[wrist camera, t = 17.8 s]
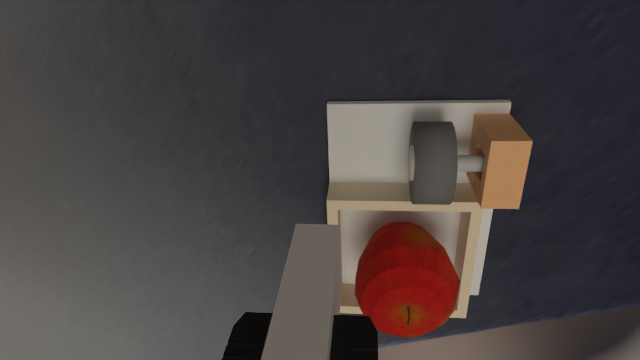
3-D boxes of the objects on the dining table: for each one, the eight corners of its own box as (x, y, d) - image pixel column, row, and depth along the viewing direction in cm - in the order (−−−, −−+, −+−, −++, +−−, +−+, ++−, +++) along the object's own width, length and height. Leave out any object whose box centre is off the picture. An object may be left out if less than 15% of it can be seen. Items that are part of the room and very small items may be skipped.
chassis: (333, 285, 50) (329, 331, 44) (327, 101, 40) (320, 129, 34) (476, 290, 48) (492, 339, 42) (508, 99, 38) (535, 128, 32)
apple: (375, 281, 48) (377, 375, 38) (342, 218, 45) (333, 302, 34) (457, 257, 46) (484, 351, 35) (429, 188, 42) (448, 269, 32)
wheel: (405, 179, 42) (411, 220, 35) (409, 110, 38) (417, 141, 32) (493, 180, 41) (516, 222, 35) (505, 109, 37) (532, 141, 31)
